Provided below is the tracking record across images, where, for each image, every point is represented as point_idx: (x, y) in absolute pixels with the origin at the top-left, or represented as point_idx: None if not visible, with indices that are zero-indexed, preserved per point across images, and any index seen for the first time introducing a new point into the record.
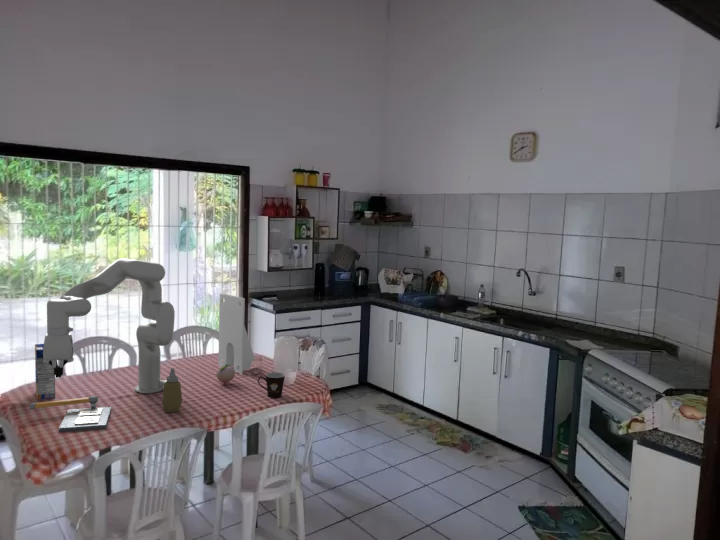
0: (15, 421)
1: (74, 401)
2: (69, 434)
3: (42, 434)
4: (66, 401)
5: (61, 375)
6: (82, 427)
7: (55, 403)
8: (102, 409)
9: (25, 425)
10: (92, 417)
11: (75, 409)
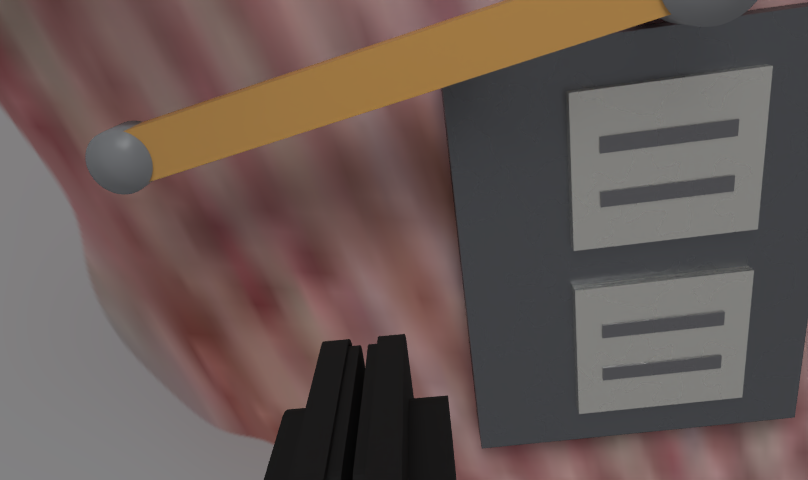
0: (85, 223)
1: (509, 64)
2: (554, 465)
3: None
4: (431, 90)
5: (406, 347)
6: (631, 427)
7: (327, 121)
8: (765, 83)
9: (205, 305)
10: (694, 305)
11: None
